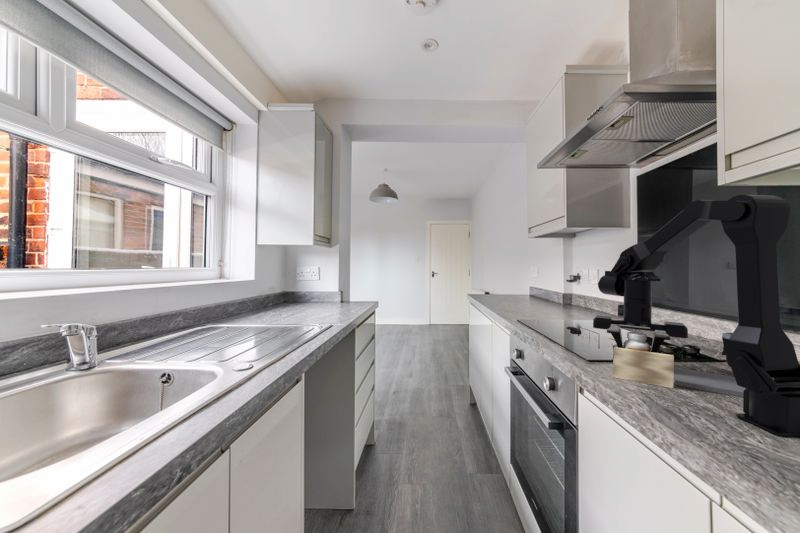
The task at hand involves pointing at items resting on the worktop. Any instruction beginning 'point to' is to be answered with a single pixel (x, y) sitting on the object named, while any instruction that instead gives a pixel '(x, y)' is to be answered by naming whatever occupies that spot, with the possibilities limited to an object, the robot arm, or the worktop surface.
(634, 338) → the supplement bottle
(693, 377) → the charcoal mat
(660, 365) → the birch screen
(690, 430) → the worktop surface
